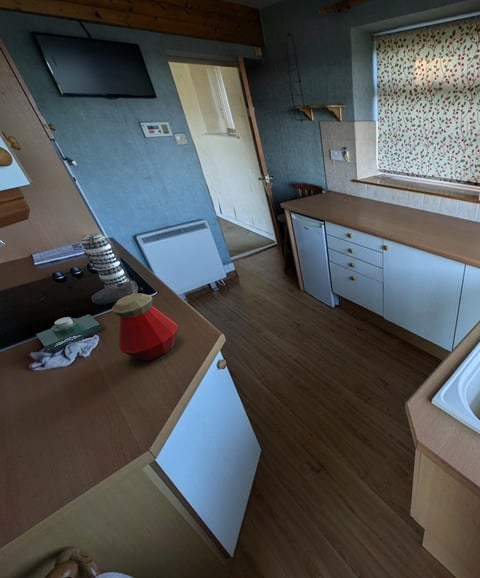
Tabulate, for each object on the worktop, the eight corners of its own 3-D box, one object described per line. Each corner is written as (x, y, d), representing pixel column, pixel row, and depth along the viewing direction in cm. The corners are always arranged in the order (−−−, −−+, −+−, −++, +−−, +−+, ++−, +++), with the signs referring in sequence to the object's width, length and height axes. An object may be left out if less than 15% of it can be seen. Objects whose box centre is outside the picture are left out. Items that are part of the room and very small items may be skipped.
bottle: (169, 330, 103) (145, 281, 93) (193, 341, 98) (171, 290, 88) (118, 359, 91) (84, 306, 81) (143, 373, 86) (110, 318, 76)
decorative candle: (117, 296, 123) (86, 240, 111) (101, 293, 126) (69, 238, 113) (138, 286, 131) (111, 232, 118) (123, 283, 133) (95, 230, 120)
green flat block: (49, 352, 94) (40, 341, 92) (40, 339, 99) (32, 329, 97) (103, 329, 104) (96, 319, 102) (92, 319, 109) (86, 309, 107)
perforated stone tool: (95, 309, 115) (86, 294, 111) (96, 304, 118) (87, 289, 115) (141, 297, 123) (134, 282, 119) (141, 292, 126) (134, 278, 123)
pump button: (59, 330, 97) (56, 325, 96) (56, 326, 99) (52, 321, 98) (75, 324, 100) (72, 319, 99) (71, 320, 102) (68, 315, 101)
